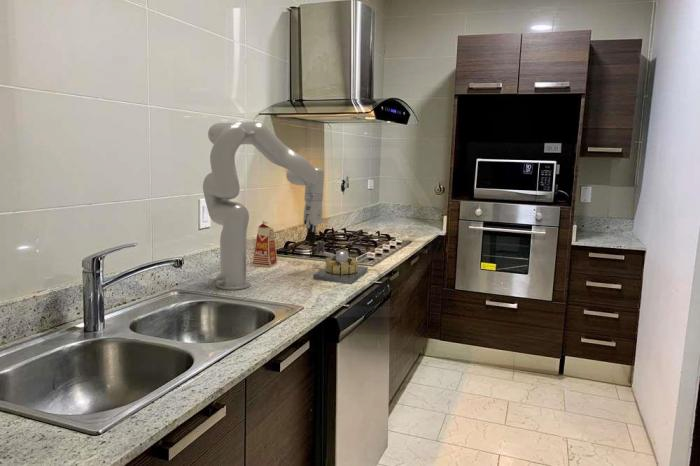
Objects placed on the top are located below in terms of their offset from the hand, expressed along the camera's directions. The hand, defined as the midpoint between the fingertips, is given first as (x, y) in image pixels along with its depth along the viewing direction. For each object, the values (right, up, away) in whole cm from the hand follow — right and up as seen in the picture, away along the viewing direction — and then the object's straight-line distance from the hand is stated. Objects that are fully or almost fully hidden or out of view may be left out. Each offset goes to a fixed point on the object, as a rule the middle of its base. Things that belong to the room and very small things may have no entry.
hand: (310, 240), depth 218 cm
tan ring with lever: (+10, -11, +1) cm, 15 cm away
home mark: (+4, -13, +7) cm, 15 cm away
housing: (+13, -14, -2) cm, 19 cm away
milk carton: (-21, -11, +12) cm, 27 cm away
